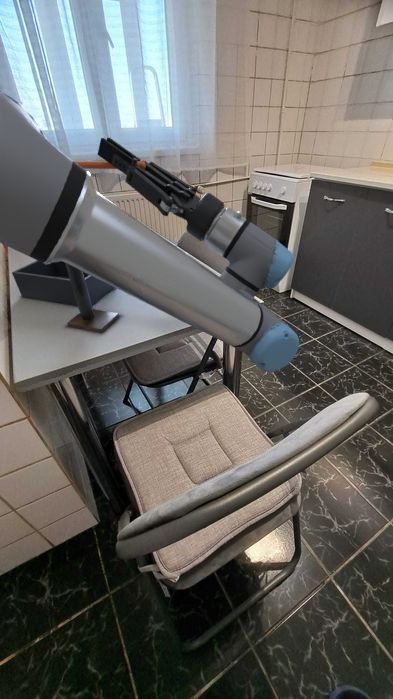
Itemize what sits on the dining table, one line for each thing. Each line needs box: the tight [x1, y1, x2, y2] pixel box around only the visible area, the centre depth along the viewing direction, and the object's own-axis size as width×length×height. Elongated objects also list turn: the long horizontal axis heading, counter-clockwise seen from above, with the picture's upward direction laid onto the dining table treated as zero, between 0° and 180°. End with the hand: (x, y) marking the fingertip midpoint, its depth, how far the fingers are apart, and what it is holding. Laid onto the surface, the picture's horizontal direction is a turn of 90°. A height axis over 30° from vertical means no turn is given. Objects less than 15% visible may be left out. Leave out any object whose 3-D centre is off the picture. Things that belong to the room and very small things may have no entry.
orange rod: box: [73, 160, 146, 170], centre depth 54 cm, size 20×1×1 cm, turn 71°
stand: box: [65, 263, 120, 333], centre depth 66 cm, size 10×8×30 cm
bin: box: [11, 260, 116, 307], centre depth 88 cm, size 24×16×8 cm, turn 71°
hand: (103, 146), depth 51 cm, fingers closed on orange rod
